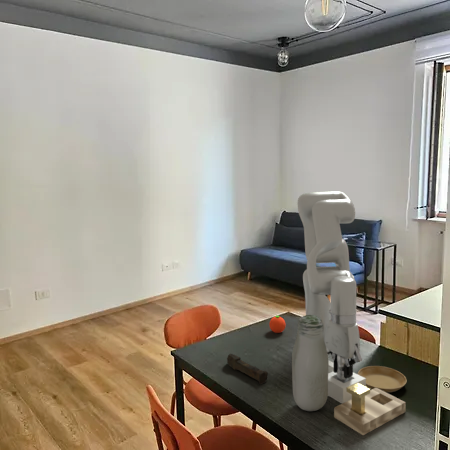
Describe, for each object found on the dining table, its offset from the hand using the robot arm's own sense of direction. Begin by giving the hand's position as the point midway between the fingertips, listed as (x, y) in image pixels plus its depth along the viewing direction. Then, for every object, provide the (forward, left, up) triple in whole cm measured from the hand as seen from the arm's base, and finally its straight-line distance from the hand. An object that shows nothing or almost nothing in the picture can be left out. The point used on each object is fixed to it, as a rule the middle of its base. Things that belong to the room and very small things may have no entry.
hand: (343, 373), depth 132 cm
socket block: (+3, +13, -6) cm, 14 cm away
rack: (0, -3, -6) cm, 7 cm away
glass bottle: (+14, 0, -6) cm, 15 cm away
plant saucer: (-14, +4, -7) cm, 16 cm away
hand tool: (+18, -28, -7) cm, 34 cm away
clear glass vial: (0, 0, -4) cm, 4 cm away
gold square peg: (+8, +13, -6) cm, 16 cm away
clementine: (-15, -49, -6) cm, 52 cm away
